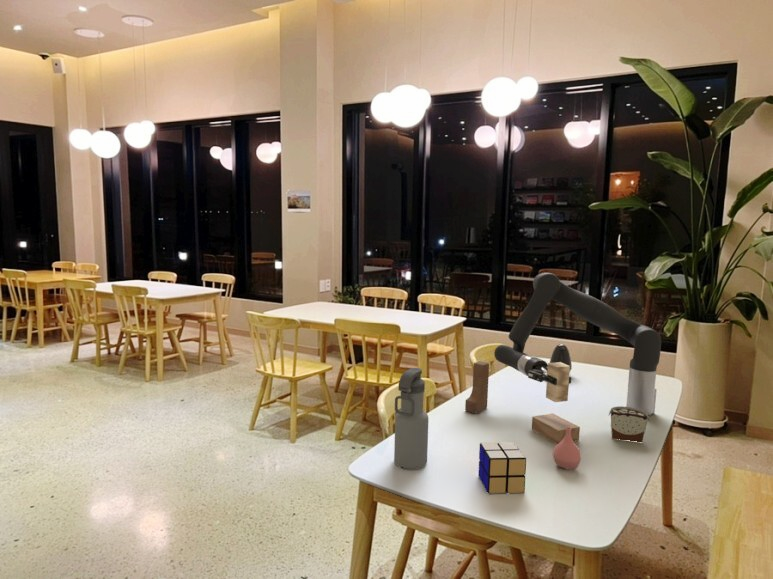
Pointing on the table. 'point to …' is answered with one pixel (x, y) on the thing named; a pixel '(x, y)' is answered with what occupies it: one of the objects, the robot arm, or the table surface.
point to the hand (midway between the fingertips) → (563, 381)
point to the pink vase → (567, 452)
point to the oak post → (558, 382)
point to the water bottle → (411, 422)
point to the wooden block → (478, 388)
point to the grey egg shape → (561, 355)
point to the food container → (628, 423)
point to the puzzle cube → (502, 468)
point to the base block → (554, 427)
